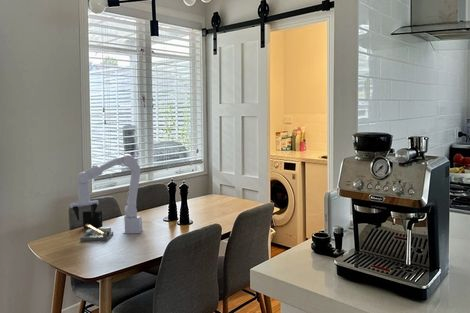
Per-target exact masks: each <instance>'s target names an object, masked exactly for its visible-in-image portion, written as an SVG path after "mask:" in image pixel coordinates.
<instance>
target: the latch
mask: <svg viewBox="0 0 470 313" xmlns="http://www.w3.org/2000/svg"><path fill="white" fill-rule="evenodd" d="M93 232H94V230H92V229H90V228H87V230H86V231H85V234H86V233H87V234H92V233H93Z"/></svg>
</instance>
